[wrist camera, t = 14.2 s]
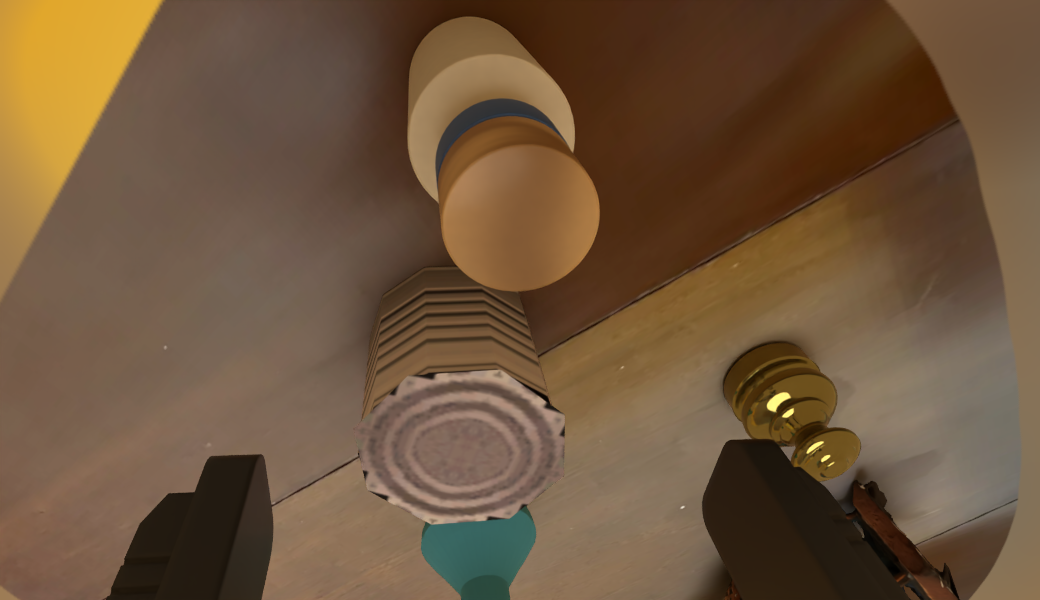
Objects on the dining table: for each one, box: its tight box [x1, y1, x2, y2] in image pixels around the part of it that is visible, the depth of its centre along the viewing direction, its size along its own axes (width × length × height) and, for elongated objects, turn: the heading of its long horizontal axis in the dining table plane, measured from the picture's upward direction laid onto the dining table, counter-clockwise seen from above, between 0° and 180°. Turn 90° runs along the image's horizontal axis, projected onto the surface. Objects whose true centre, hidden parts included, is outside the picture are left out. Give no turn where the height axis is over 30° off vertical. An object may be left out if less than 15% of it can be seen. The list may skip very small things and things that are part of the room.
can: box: [354, 266, 565, 525], centre depth 37 cm, size 11×11×12 cm
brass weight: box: [724, 343, 861, 482], centre depth 45 cm, size 7×7×10 cm
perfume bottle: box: [421, 506, 536, 600], centre depth 45 cm, size 9×9×15 cm
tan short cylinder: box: [438, 116, 600, 291], centre depth 19 cm, size 5×5×3 cm
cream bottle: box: [408, 17, 575, 203], centre depth 27 cm, size 7×7×16 cm
